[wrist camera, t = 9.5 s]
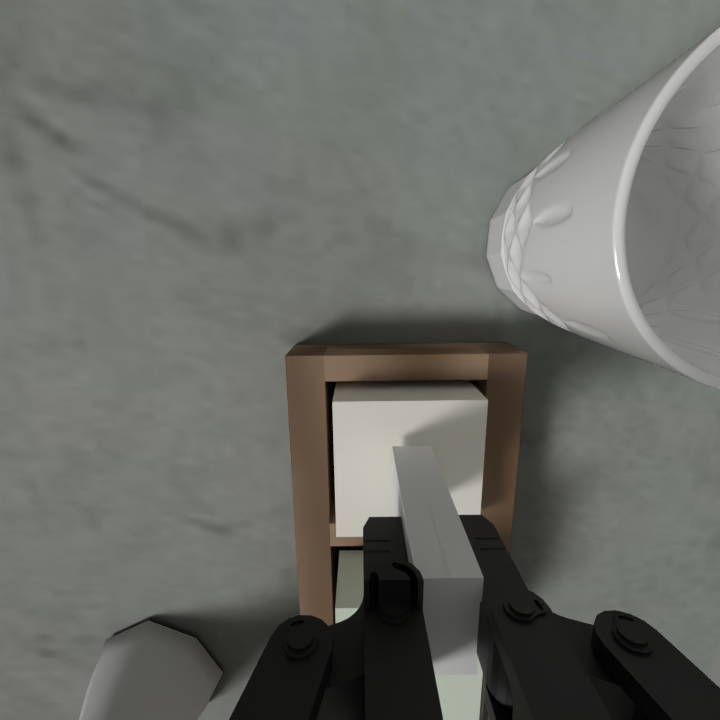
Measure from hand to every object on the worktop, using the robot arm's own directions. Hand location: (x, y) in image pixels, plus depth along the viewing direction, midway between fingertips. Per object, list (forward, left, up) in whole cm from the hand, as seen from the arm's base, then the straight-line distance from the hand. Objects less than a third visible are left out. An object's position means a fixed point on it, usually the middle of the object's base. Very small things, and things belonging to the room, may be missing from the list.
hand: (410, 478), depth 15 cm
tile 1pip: (0, 0, -4) cm, 4 cm away
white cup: (+7, +9, -5) cm, 12 cm away
